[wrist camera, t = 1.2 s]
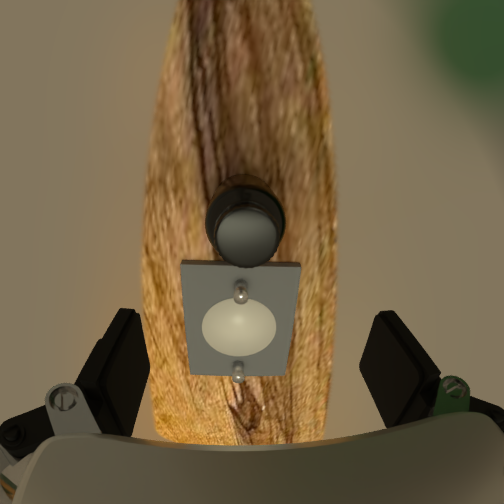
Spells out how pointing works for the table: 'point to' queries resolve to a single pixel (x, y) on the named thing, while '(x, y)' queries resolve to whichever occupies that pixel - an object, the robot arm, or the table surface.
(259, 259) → the supplement bottle
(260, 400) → the table surface
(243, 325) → the board
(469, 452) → the robot arm
